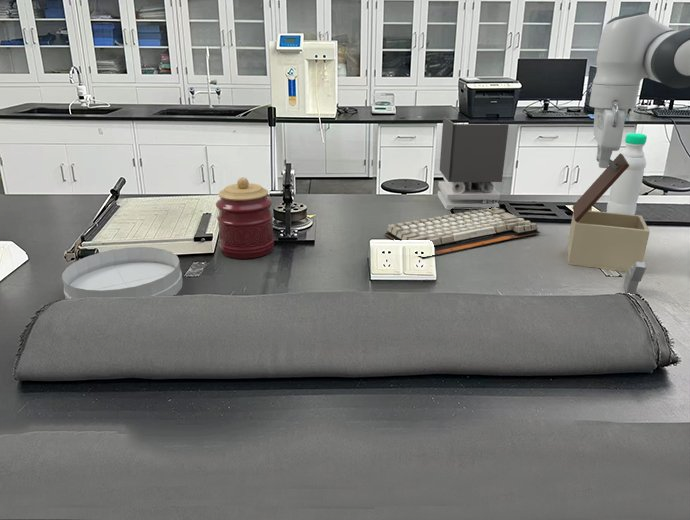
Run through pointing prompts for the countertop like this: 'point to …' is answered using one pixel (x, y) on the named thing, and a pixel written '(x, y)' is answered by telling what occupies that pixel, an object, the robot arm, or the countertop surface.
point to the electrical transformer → (471, 164)
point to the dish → (124, 274)
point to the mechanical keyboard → (464, 229)
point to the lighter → (634, 277)
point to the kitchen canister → (245, 220)
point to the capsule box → (607, 240)
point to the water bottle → (629, 177)
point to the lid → (600, 186)
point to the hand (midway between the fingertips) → (601, 164)
